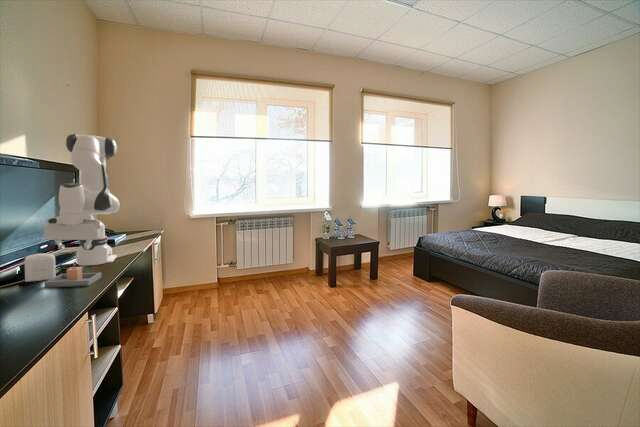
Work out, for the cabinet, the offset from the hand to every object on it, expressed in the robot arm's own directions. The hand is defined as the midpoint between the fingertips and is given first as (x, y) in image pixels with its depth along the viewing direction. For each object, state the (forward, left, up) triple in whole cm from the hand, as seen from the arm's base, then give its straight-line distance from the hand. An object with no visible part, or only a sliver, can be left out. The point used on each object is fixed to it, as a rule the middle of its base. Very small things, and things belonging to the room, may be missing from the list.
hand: (74, 249), depth 129 cm
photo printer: (-6, -16, -16) cm, 23 cm away
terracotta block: (0, 0, -15) cm, 15 cm away
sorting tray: (0, 0, -15) cm, 15 cm away
